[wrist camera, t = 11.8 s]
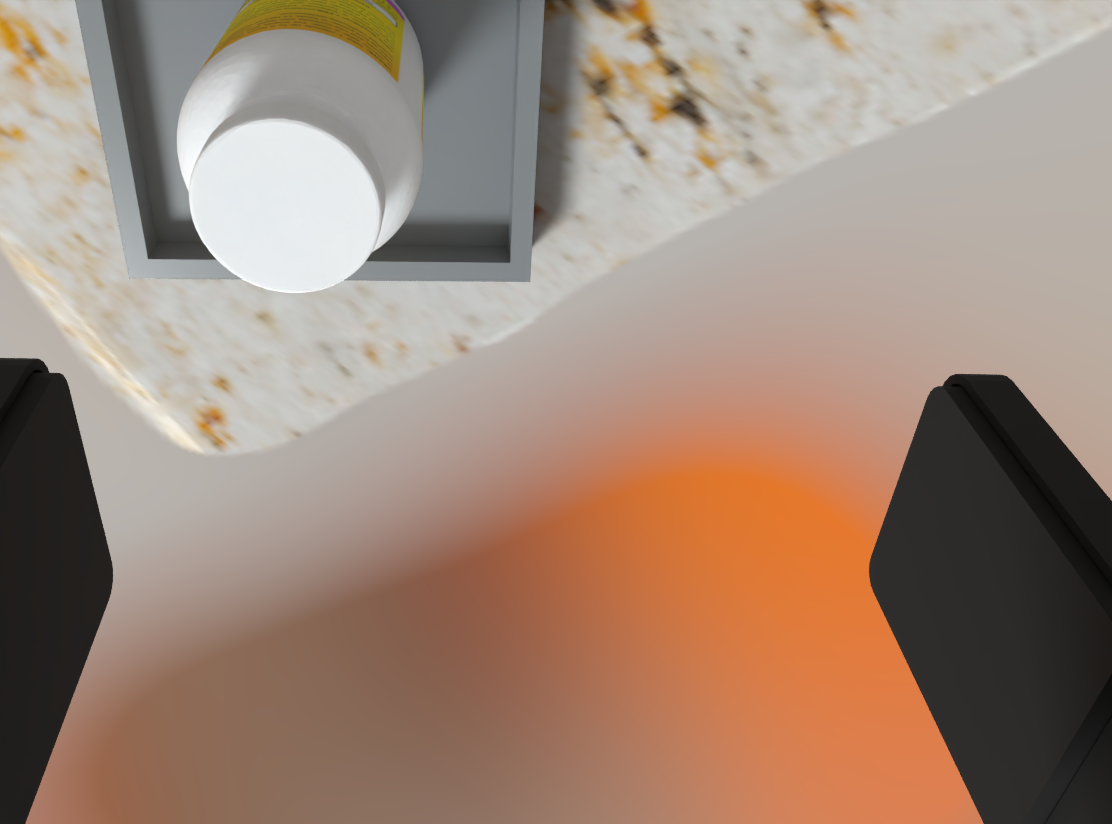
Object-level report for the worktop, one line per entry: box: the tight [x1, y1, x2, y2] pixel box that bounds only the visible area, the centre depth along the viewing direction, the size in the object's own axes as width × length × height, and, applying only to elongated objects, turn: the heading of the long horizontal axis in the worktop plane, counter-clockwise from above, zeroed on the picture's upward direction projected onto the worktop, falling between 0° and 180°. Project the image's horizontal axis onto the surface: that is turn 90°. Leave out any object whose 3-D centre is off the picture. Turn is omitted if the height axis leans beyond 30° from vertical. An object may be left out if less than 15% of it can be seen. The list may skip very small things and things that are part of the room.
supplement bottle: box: [177, 0, 424, 293], centre depth 30 cm, size 7×7×13 cm
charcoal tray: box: [75, 0, 545, 282], centre depth 35 cm, size 15×15×2 cm
